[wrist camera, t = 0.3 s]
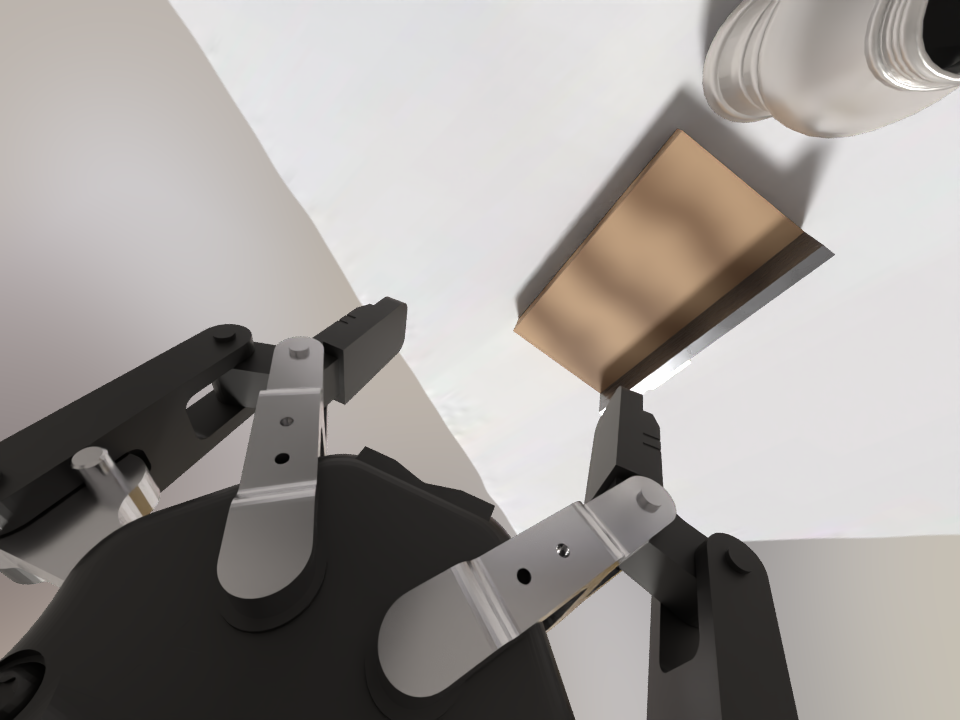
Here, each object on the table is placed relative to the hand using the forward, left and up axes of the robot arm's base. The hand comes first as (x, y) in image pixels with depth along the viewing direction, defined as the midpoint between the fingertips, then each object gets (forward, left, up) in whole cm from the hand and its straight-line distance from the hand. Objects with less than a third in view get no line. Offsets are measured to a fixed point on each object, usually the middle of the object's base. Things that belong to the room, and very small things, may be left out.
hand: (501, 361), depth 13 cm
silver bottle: (-14, +4, -23) cm, 27 cm away
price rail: (+1, +14, -21) cm, 25 cm away
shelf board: (+1, +9, -23) cm, 25 cm away
